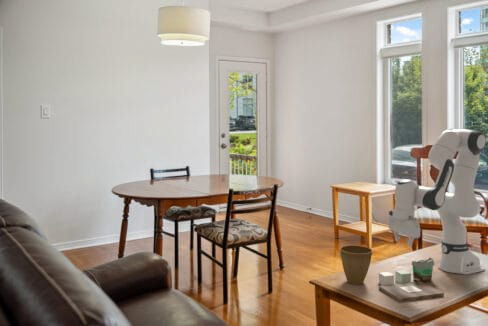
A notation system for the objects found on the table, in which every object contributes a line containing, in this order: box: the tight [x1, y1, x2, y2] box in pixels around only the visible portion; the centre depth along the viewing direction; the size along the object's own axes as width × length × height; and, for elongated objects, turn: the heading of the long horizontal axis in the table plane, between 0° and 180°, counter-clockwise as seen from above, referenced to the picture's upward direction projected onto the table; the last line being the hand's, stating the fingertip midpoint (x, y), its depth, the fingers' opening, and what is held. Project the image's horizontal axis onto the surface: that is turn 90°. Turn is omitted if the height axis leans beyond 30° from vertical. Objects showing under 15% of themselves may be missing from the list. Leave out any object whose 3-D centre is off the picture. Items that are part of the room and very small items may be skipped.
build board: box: [378, 281, 445, 303], centre depth 210 cm, size 22×16×2 cm
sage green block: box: [394, 269, 412, 284], centre depth 224 cm, size 5×5×5 cm
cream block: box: [378, 271, 395, 286], centre depth 222 cm, size 5×5×5 cm
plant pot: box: [339, 244, 373, 285], centre depth 225 cm, size 15×15×16 cm
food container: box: [411, 257, 435, 284], centre depth 225 cm, size 12×6×10 cm, turn 118°
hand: (403, 243), depth 223 cm, fingers open, 8 cm apart
